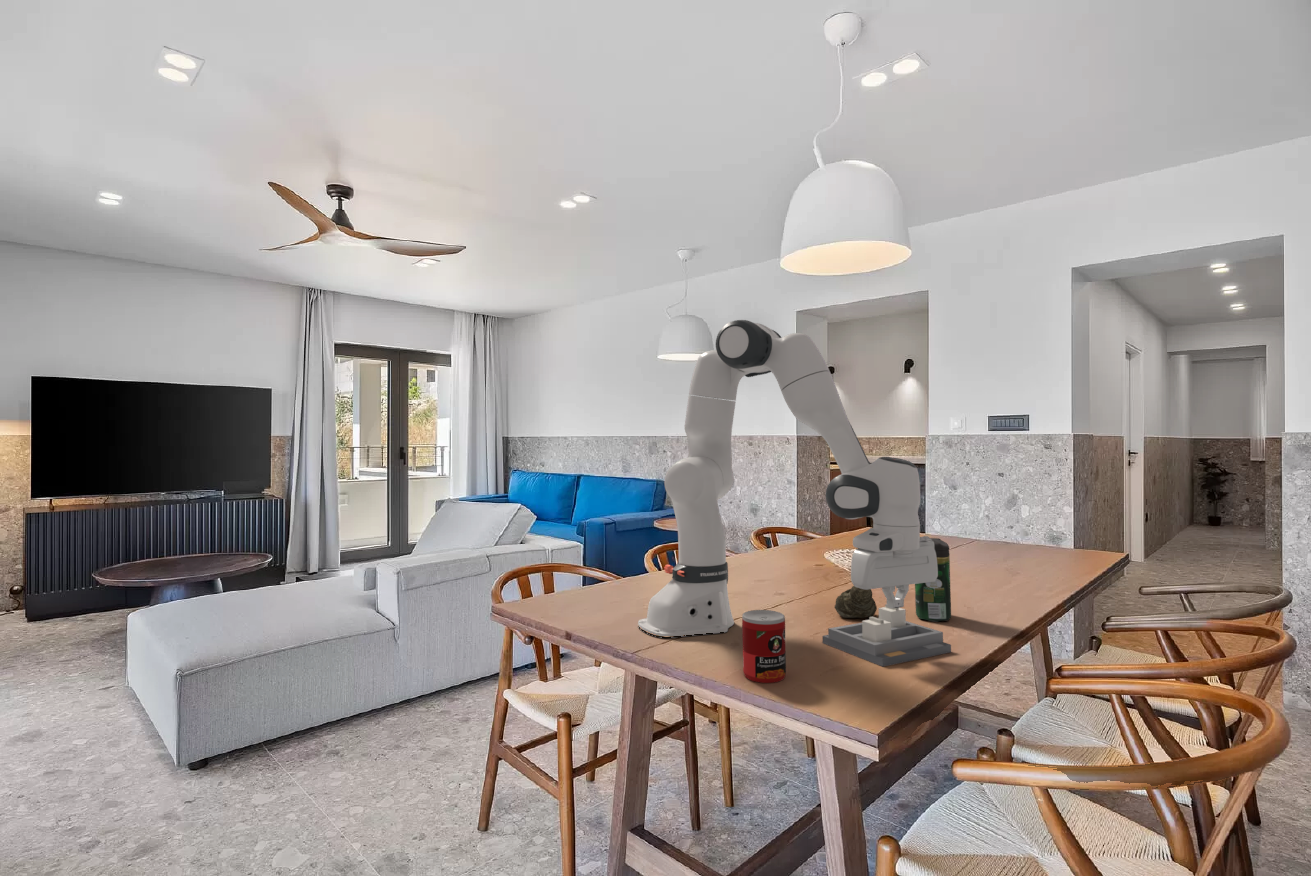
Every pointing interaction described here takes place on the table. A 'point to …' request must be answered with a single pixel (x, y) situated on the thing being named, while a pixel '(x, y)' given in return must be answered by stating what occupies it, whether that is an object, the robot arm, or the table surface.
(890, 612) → the tab far
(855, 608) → the dark green lumpy mound
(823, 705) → the table surface
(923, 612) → the coffee jar
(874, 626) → the tab near
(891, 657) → the switch bank
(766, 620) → the canned food
